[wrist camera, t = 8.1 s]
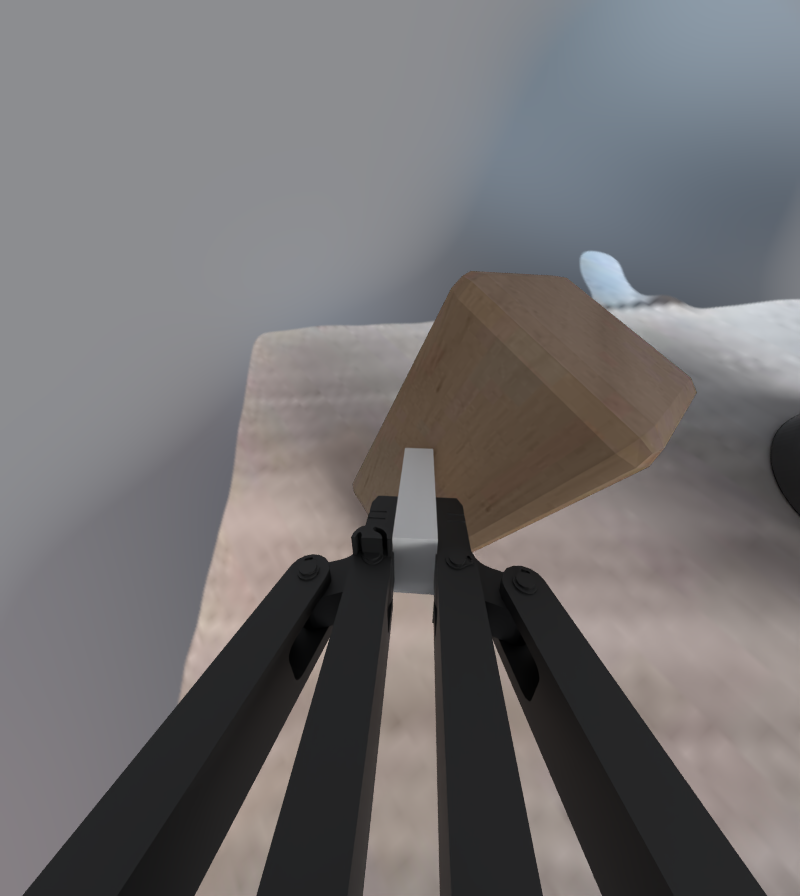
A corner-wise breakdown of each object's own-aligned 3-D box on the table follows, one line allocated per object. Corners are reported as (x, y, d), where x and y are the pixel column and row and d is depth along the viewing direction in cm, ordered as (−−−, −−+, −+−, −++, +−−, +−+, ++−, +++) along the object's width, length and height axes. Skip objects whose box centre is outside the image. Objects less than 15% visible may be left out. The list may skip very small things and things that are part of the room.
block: (345, 487, 26) (454, 258, 11) (421, 450, 32) (560, 268, 17) (408, 586, 23) (677, 462, 8) (479, 526, 29) (711, 388, 14)
